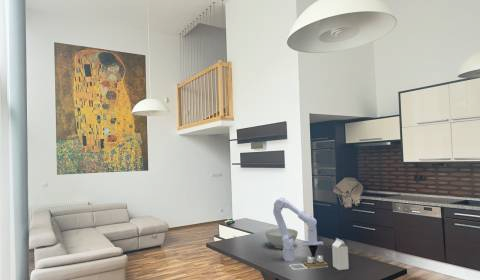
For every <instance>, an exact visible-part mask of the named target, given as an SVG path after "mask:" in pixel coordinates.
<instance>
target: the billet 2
mask: <svg viewBox="0 0 480 280" xmlns="http://www.w3.org/2000/svg"><path fill="white" fill-rule="evenodd" d="M323 256H324V255H323V254H322V255H321V254H318V255H316V258H317V264H322V263H323V261H324V257H323Z"/></svg>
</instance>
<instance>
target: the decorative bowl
mask: <svg viewBox="0 0 480 280" xmlns="http://www.w3.org/2000/svg"><path fill="white" fill-rule="evenodd" d="M287 230H288V232H289V234H290V235H291V237H292V238H293V239H294V242H296V240H297V237H298V233H299V232H298V230H295V229H291V228H287ZM264 234H265V237H266V239H267V240H268V242H269V243H270V244H271V245H273V247H274V248H276V249H279V250H280V249H281V250H283V248H284V246H283V240H282V234H281V231H280V229H279V227H278V228H271V229H266V230H265V231H264Z"/></svg>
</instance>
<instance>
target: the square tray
mask: <svg viewBox="0 0 480 280" xmlns="http://www.w3.org/2000/svg"><path fill="white" fill-rule="evenodd" d="M293 266H302V267H301V268H300V267H299V268H294V267H293ZM288 267H289V268H290V269H291V270H292V271H295V270H296V271H297V270H305V269H306V270H308V269H307V268H306V267H305V266H304V263H295V264H293V263H292V264H288Z"/></svg>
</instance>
